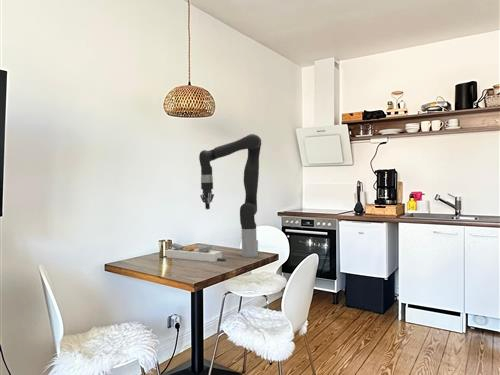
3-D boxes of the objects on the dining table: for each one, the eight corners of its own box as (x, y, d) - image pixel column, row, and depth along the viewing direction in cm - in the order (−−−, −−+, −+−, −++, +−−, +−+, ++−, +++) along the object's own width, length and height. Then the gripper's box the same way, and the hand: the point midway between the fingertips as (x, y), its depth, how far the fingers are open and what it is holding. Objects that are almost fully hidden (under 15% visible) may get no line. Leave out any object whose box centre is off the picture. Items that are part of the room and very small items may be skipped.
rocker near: (212, 248, 218) (211, 245, 218) (208, 249, 215) (208, 247, 215) (202, 250, 221) (202, 247, 221) (199, 251, 218) (198, 249, 218)
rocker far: (183, 248, 228) (183, 246, 228) (179, 250, 224) (179, 247, 224) (174, 245, 231) (174, 243, 231) (170, 246, 227) (170, 244, 227)
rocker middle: (197, 247, 223) (197, 245, 223) (193, 249, 219) (193, 246, 220) (188, 248, 226) (187, 246, 226) (184, 249, 223) (183, 247, 223)
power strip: (228, 259, 216) (228, 251, 216) (221, 262, 208) (221, 253, 208) (171, 254, 235) (170, 246, 235) (162, 256, 227) (161, 249, 227)
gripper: (206, 182, 223) (206, 210, 223) (217, 181, 235) (218, 208, 235) (196, 182, 226) (196, 210, 226) (207, 181, 238) (208, 208, 238)
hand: (207, 209), depth 231 cm, fingers closed
